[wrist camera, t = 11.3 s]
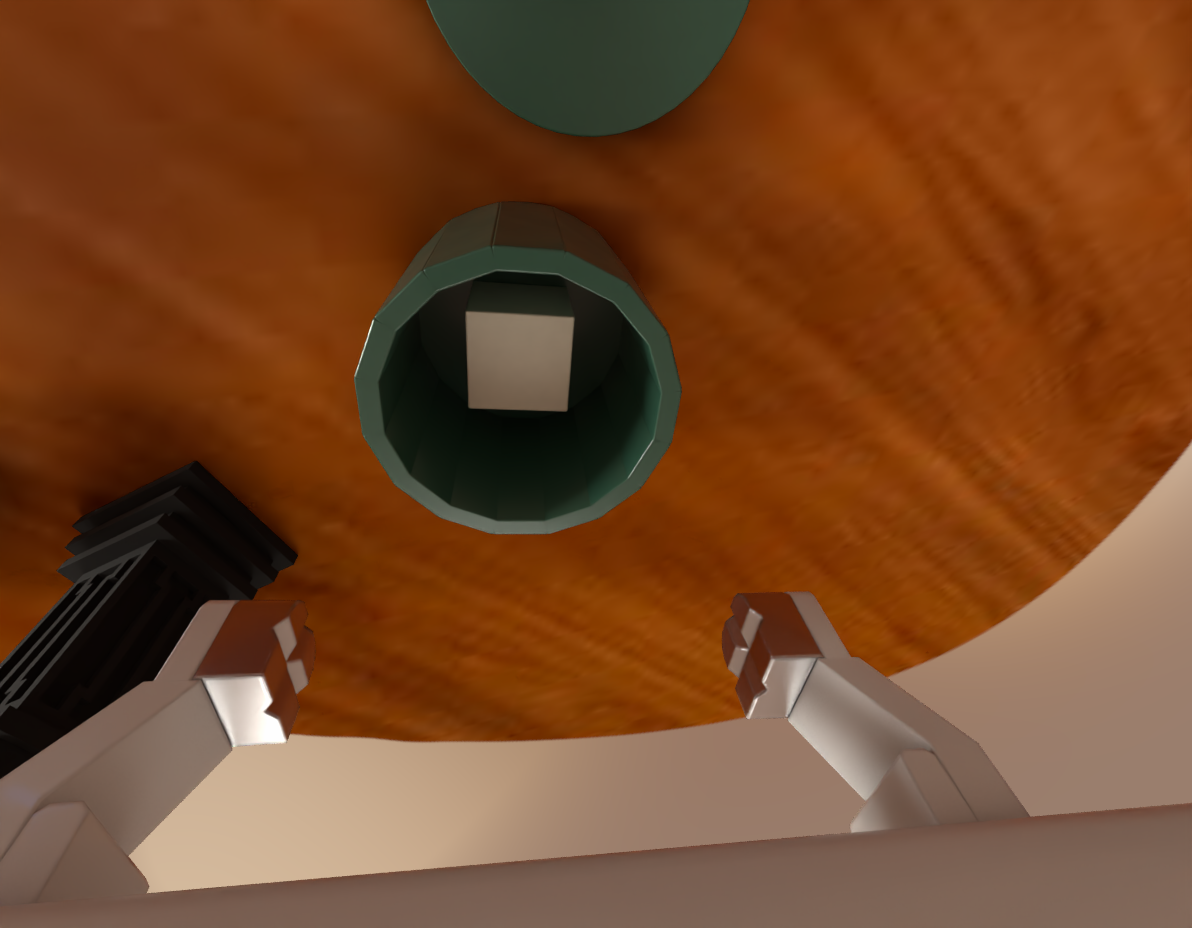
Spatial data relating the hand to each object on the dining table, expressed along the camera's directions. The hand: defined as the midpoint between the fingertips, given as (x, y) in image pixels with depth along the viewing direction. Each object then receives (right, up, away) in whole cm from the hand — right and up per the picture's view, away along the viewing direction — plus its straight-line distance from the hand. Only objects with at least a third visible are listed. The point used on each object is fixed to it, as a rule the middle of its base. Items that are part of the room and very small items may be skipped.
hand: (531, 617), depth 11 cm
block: (-3, +10, +17) cm, 20 cm away
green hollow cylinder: (-2, +10, +17) cm, 20 cm away
